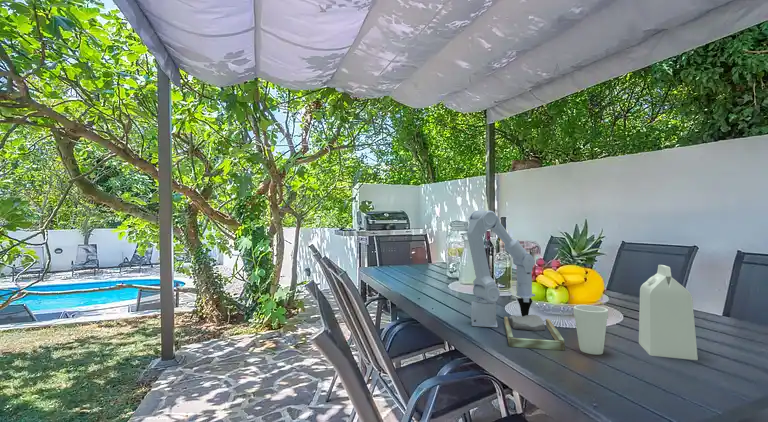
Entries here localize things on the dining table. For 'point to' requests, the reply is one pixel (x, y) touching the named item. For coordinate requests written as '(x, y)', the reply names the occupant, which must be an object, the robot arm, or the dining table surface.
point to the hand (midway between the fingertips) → (524, 316)
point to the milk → (666, 317)
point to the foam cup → (591, 327)
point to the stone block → (527, 322)
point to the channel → (536, 343)
